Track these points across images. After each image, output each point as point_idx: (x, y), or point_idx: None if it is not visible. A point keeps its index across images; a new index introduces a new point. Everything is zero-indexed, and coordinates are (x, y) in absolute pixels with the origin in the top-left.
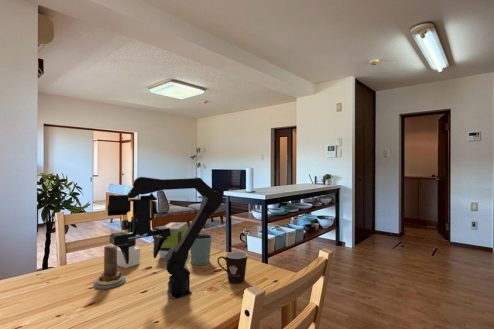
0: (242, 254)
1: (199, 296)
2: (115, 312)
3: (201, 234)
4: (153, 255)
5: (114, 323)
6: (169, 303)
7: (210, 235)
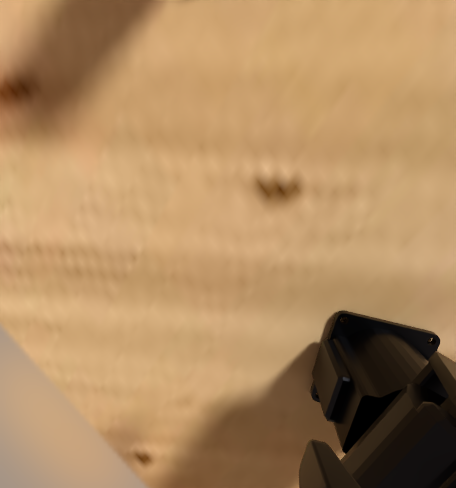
0: None
1: None
2: (66, 274)
3: None
4: (316, 456)
5: (29, 347)
6: (265, 398)
7: None
